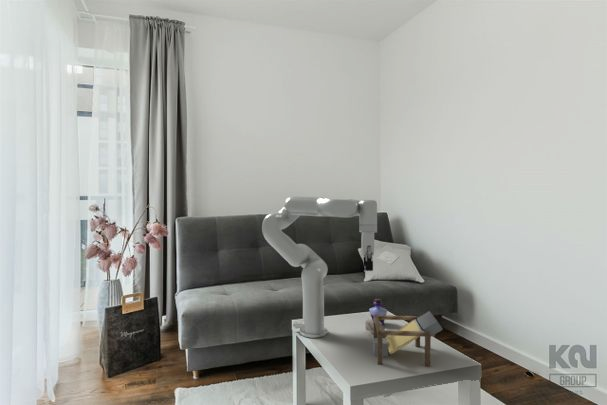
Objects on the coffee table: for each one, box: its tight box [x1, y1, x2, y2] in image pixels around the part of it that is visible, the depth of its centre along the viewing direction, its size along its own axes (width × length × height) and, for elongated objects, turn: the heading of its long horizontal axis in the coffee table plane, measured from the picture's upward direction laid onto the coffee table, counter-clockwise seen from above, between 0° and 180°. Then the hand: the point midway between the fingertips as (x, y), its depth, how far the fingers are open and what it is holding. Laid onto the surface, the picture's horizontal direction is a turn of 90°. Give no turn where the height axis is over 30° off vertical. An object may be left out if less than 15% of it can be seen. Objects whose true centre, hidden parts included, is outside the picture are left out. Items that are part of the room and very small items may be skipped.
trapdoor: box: [385, 310, 444, 355], centre depth 140 cm, size 21×14×4 cm
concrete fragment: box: [365, 318, 388, 338], centre depth 162 cm, size 7×14×6 cm, turn 6°
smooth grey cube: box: [372, 338, 389, 357], centre depth 141 cm, size 5×5×5 cm
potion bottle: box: [369, 298, 388, 326], centre depth 174 cm, size 9×9×12 cm
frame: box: [372, 314, 432, 368], centre depth 140 cm, size 19×19×12 cm
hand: (368, 268), depth 156 cm, fingers open, 9 cm apart
